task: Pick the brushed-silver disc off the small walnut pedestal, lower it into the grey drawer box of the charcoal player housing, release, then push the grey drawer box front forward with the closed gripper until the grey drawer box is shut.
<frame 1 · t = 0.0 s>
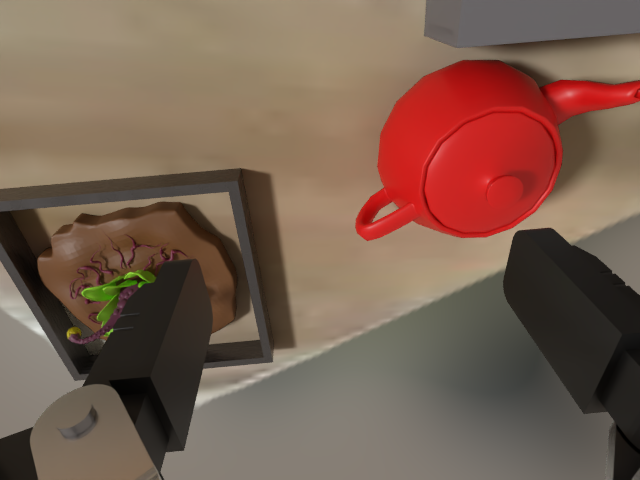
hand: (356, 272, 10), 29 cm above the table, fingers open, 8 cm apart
rectangular frame: (151, 278, 46), on the table
plant: (153, 275, 47), resting in rectangular frame
teapot: (456, 134, 39), on the table
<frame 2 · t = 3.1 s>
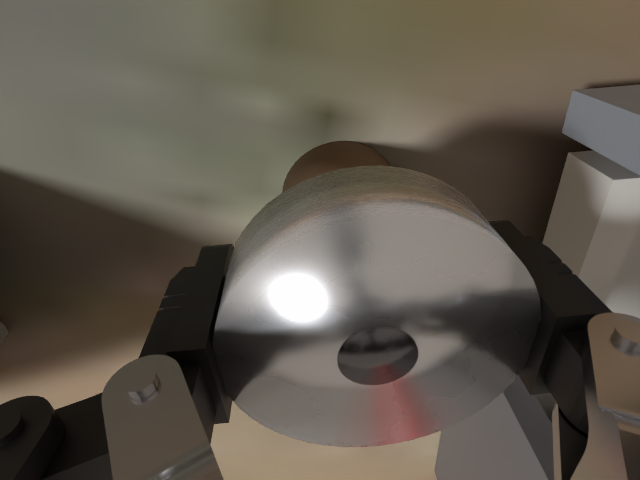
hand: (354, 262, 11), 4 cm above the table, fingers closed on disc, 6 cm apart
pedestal: (340, 197, 14), on the table
housing: (617, 388, 21), on the table
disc: (362, 290, 10), point 5 cm above the table, touching gripper, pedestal
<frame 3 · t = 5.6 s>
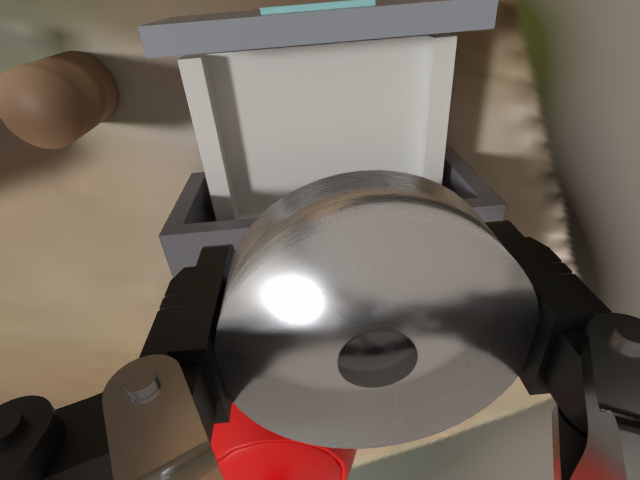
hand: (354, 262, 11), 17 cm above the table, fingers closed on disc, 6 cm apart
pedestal: (83, 87, 24), on the table
housing: (328, 241, 31), on the table
grey drawer box: (324, 137, 22), point 4 cm above the table, slide at 8.0 cm
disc: (362, 293, 10), point 18 cm above the table, touching gripper
teapot: (287, 375, 39), on the table
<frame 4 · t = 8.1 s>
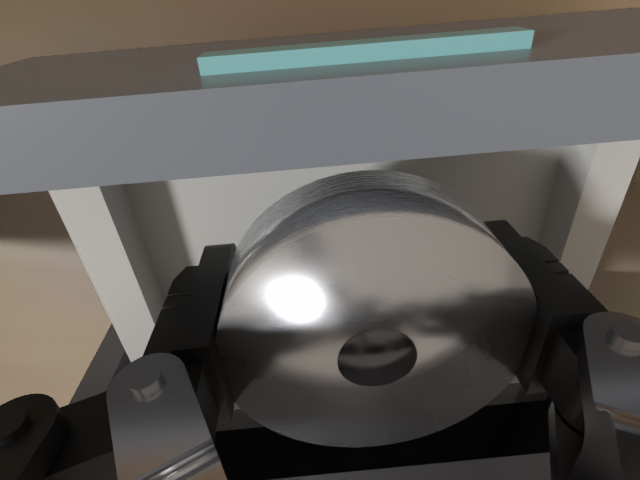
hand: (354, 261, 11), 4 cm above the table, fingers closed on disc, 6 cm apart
housing: (349, 392, 19), on the table
grey drawer box: (357, 299, 11), point 4 cm above the table, slide at 8.0 cm
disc: (361, 293, 10), point 5 cm above the table, touching gripper
when the fingers open (4 cm above the table, at t = 8.1 s): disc drops 3 cm, resting on grey drawer box.
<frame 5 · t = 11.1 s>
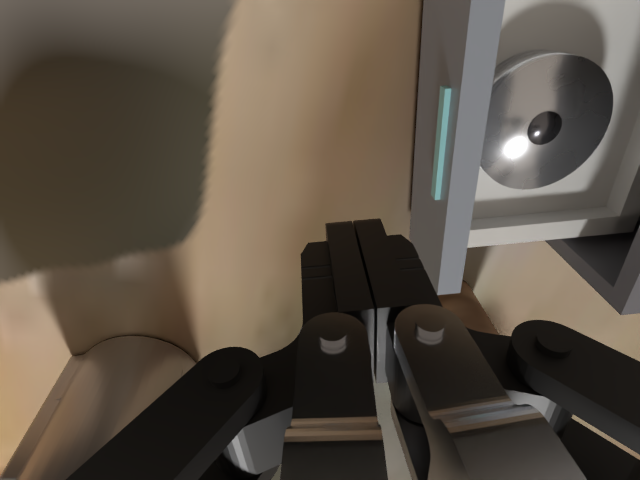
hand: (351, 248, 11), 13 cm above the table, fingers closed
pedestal: (444, 298, 30), on the table
grey drawer box: (562, 123, 19), point 4 cm above the table, slide at 8.0 cm, touching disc
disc: (523, 116, 21), point 2 cm above the table, touching grey drawer box
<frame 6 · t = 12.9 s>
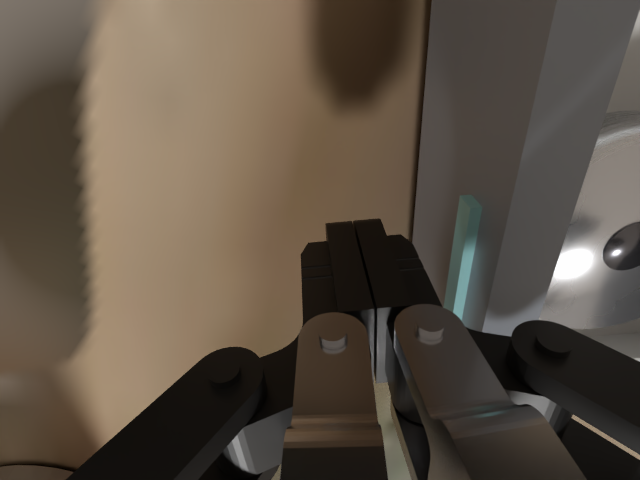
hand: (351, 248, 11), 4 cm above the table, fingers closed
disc: (586, 211, 13), point 2 cm above the table, touching grey drawer box
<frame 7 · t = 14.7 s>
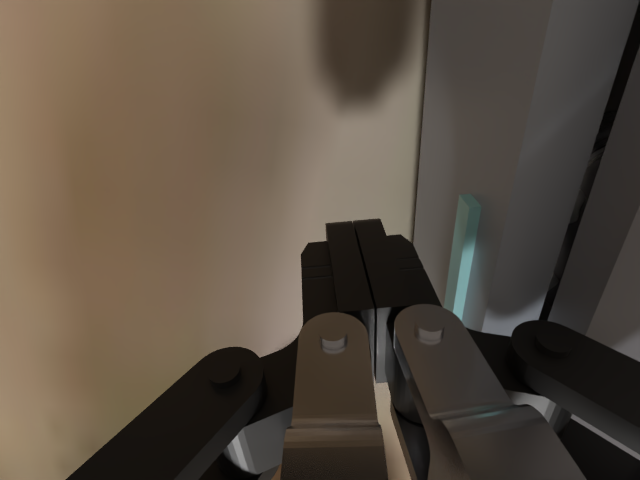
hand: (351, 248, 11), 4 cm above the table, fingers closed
housing: (619, 175, 14), on the table
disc: (589, 210, 13), point 2 cm above the table, touching grey drawer box
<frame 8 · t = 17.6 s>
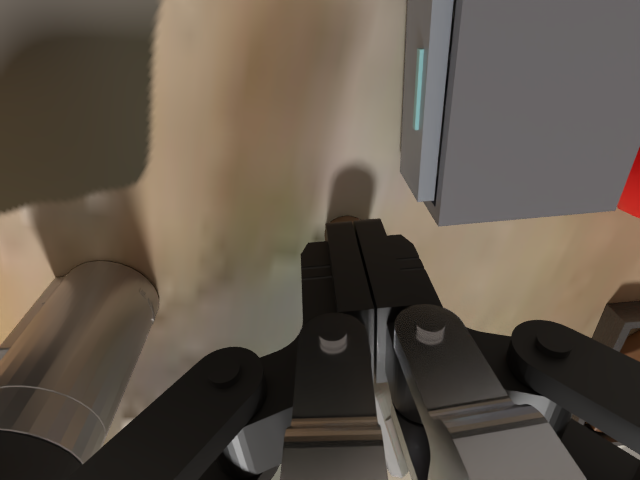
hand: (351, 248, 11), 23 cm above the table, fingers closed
grey tissue: (359, 359, 48), on the table
housing: (500, 66, 31), on the table
grey drawer box: (504, 78, 27), point 4 cm above the table, slide at 0.0 cm, touching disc
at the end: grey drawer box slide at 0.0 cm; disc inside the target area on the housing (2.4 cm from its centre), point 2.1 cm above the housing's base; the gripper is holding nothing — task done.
